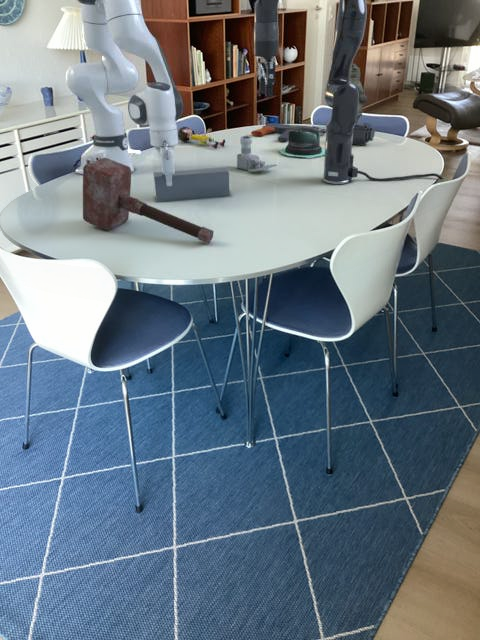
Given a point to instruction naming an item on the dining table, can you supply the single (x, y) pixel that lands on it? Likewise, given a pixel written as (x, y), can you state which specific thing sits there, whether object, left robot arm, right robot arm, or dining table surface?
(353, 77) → the statue
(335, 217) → the dining table surface
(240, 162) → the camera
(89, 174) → the sledgehammer
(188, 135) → the figurine
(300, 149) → the green hat
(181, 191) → the bar
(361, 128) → the toy
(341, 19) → the right robot arm
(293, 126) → the submachine gun
